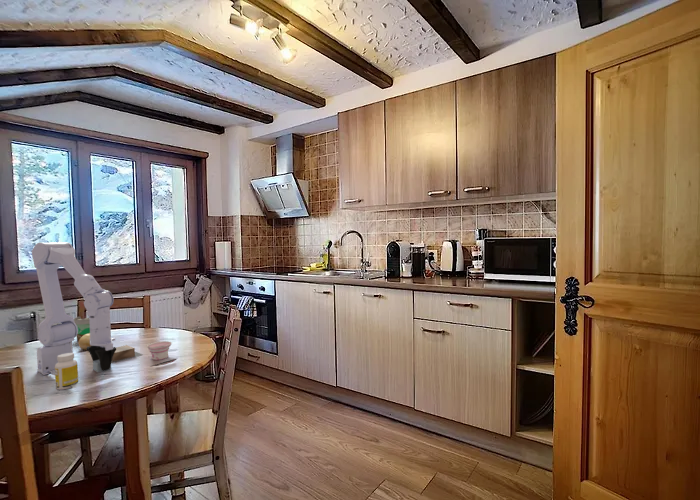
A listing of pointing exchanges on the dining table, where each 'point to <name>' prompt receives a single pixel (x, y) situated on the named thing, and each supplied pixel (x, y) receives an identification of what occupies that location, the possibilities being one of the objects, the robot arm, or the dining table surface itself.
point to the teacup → (160, 351)
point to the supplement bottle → (66, 371)
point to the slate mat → (129, 357)
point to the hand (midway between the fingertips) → (102, 367)
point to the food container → (82, 326)
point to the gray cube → (97, 366)
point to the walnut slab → (123, 352)
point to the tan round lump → (84, 341)
